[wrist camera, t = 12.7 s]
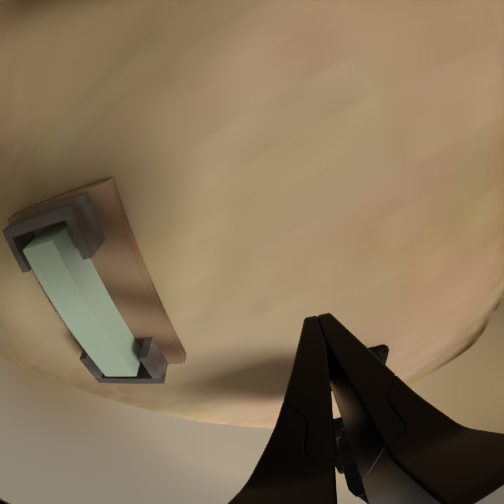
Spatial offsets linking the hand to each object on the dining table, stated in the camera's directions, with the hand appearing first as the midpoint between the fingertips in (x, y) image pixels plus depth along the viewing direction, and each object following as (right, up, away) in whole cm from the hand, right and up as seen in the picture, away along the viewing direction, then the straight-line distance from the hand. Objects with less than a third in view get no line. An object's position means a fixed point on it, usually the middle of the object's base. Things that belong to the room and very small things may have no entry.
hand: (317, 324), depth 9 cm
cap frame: (-16, -1, +14) cm, 21 cm away
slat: (-15, -2, +13) cm, 20 cm away
